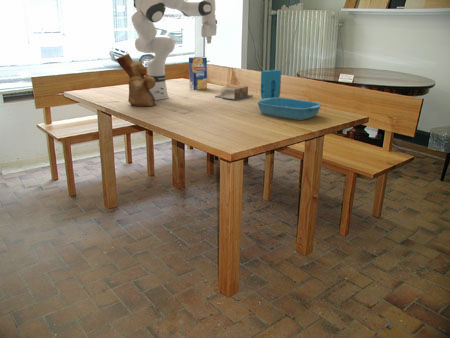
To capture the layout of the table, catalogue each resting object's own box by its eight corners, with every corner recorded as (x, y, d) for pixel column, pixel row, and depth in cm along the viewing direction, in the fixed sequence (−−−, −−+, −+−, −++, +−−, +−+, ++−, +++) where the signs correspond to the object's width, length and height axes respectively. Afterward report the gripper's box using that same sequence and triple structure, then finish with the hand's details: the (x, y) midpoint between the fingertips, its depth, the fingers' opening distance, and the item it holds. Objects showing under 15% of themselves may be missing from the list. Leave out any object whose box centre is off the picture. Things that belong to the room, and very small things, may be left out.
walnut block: (233, 89, 285) (247, 86, 297) (221, 88, 290) (235, 84, 302) (233, 99, 287) (247, 95, 299) (221, 97, 292) (235, 93, 304)
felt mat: (237, 100, 287) (237, 99, 286) (215, 97, 297) (215, 96, 297) (253, 96, 300) (253, 95, 300) (231, 93, 310) (231, 92, 310)
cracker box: (207, 88, 329) (206, 57, 322) (193, 89, 324) (193, 58, 317) (202, 87, 335) (202, 56, 327) (189, 88, 329) (188, 57, 322)
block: (275, 102, 280) (276, 69, 273) (280, 103, 276) (281, 70, 269) (259, 104, 274) (260, 70, 268) (264, 105, 270) (265, 71, 264)
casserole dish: (249, 113, 252) (249, 100, 250) (273, 107, 267) (273, 95, 265) (305, 123, 229) (306, 110, 226) (328, 116, 244) (329, 103, 242)
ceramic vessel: (154, 107, 266) (152, 55, 256) (117, 107, 266) (113, 55, 256) (158, 102, 281) (155, 52, 271) (123, 102, 280) (119, 52, 270)
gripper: (208, 22, 283) (208, 44, 288) (218, 20, 301) (218, 42, 306) (198, 21, 285) (199, 44, 289) (209, 20, 303) (209, 42, 308)
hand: (209, 43), depth 298 cm, fingers closed
